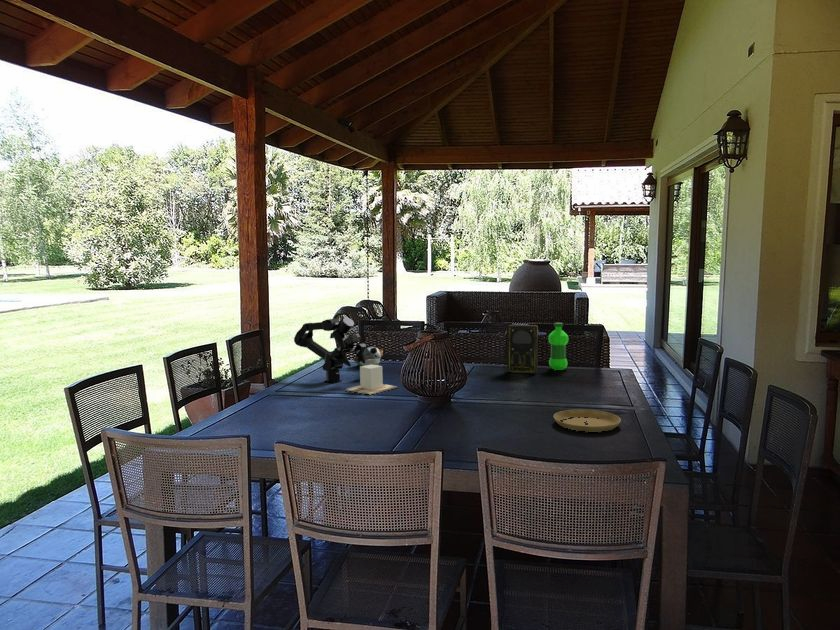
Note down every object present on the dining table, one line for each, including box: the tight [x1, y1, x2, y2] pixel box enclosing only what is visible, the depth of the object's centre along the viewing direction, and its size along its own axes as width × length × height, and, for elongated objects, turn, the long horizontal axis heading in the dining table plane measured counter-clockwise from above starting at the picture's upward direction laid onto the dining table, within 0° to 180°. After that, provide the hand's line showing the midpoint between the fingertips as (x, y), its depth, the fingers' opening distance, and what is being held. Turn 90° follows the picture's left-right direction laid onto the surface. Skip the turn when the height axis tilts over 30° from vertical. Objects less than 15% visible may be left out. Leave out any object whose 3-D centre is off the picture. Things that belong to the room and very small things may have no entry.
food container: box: [360, 357, 381, 367], centre depth 322 cm, size 12×6×10 cm, turn 143°
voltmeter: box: [507, 324, 539, 375], centre depth 330 cm, size 16×9×25 cm, turn 73°
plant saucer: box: [553, 409, 622, 433], centre depth 234 cm, size 24×24×3 cm
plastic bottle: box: [547, 322, 570, 371], centre depth 335 cm, size 10×10×25 cm
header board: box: [345, 383, 398, 396], centre depth 296 cm, size 16×18×4 cm
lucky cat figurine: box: [352, 346, 384, 367], centre depth 353 cm, size 15×12×14 cm
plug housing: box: [359, 364, 384, 390], centre depth 296 cm, size 7×7×10 cm
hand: (357, 364), depth 302 cm, fingers open, 9 cm apart
